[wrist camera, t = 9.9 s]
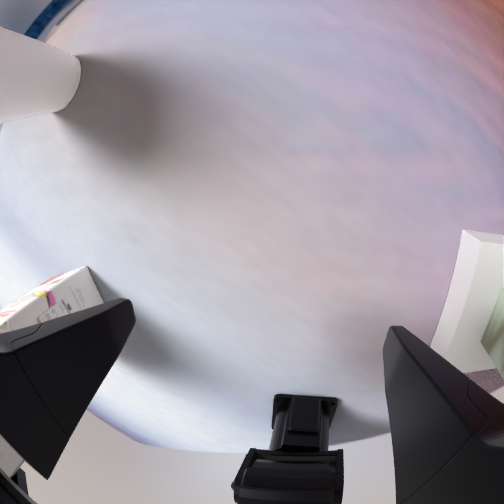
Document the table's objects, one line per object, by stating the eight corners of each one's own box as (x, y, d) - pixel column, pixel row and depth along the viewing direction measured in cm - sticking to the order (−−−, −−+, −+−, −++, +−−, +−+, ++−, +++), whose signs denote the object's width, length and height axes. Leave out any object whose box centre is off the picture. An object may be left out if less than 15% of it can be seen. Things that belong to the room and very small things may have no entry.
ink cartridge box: (67, 312, 29) (-11, 377, 15) (50, 277, 28) (-36, 335, 14) (107, 306, 26) (13, 391, 13) (88, 264, 25) (-21, 337, 12)
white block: (509, 346, 18) (520, 363, 16) (426, 355, 21) (435, 376, 18) (545, 241, 14) (562, 252, 12) (462, 229, 17) (481, 241, 14)
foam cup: (100, 91, 19) (-25, 82, 7) (46, 143, 21) (-56, 161, 10) (84, 25, 16) (-14, 1, 4) (33, 78, 19) (-55, 79, 7)
